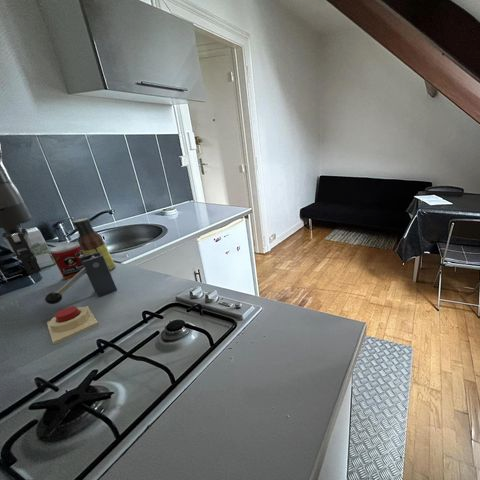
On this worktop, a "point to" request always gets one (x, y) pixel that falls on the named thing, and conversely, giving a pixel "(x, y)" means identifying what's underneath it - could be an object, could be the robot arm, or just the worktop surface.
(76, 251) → the canned food
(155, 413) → the worktop surface
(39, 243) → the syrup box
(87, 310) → the button box
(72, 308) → the button
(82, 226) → the sauce bottle
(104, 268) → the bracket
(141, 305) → the worktop surface
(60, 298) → the lever
